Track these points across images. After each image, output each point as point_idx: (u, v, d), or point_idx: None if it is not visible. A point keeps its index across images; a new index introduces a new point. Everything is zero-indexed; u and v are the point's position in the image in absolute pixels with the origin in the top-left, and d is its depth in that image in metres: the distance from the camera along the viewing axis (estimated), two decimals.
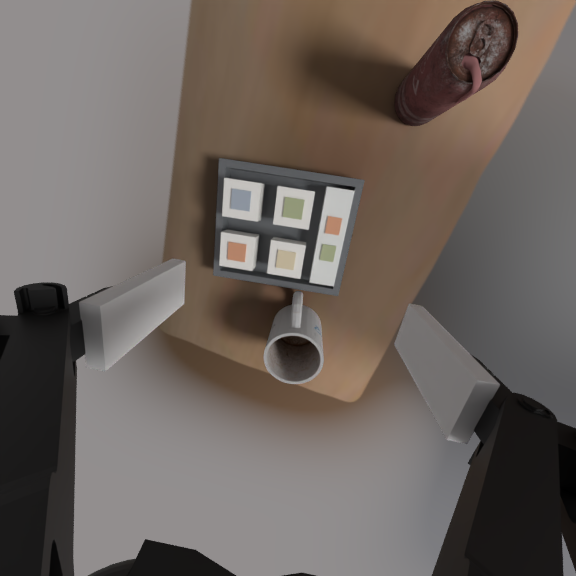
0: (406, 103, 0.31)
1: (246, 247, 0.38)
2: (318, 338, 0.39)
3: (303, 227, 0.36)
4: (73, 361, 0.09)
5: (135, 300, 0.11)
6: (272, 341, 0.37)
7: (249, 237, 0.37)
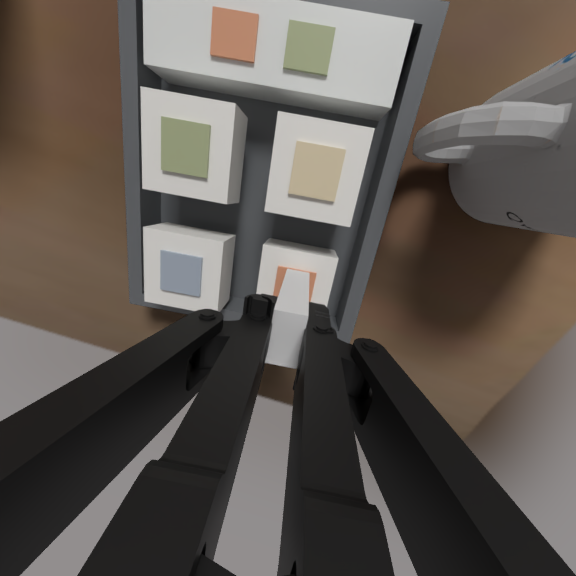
0: None
1: (283, 266, 0.18)
2: None
3: (230, 119, 0.14)
4: (263, 363, 0.11)
5: None
6: None
7: (263, 258, 0.18)
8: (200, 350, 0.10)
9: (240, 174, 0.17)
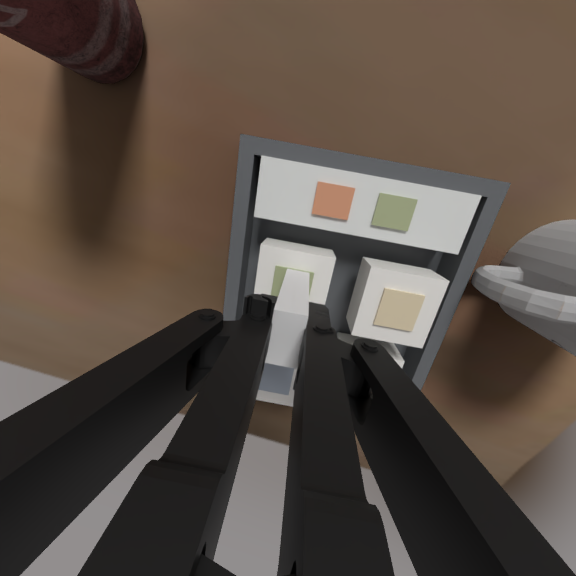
0: (81, 47, 0.14)
1: None
2: None
3: (330, 268, 0.17)
4: (263, 363, 0.11)
5: None
6: None
7: None
8: (200, 350, 0.10)
9: None
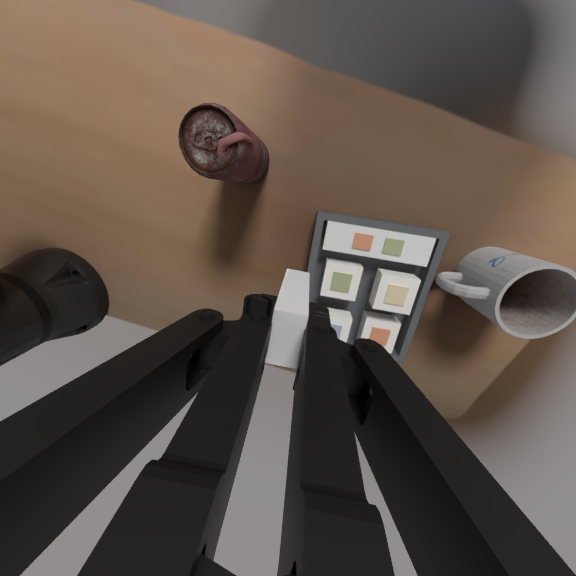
0: (251, 179, 0.33)
1: (375, 327, 0.38)
2: (511, 266, 0.29)
3: (360, 272, 0.36)
4: (263, 363, 0.11)
5: None
6: (503, 326, 0.30)
7: (365, 323, 0.38)
8: (200, 350, 0.10)
9: None
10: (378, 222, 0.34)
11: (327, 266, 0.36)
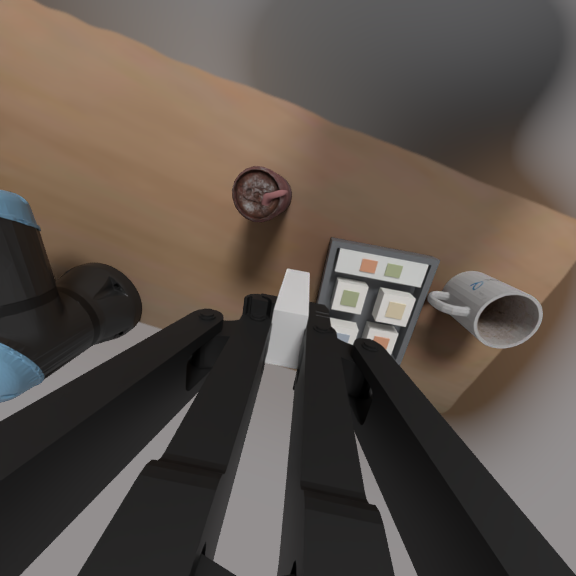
0: None
1: (376, 336, 0.46)
2: (487, 291, 0.37)
3: (366, 291, 0.43)
4: (263, 363, 0.11)
5: None
6: (480, 338, 0.37)
7: (369, 333, 0.46)
8: (200, 350, 0.10)
9: None
10: (382, 250, 0.41)
11: (338, 285, 0.43)
